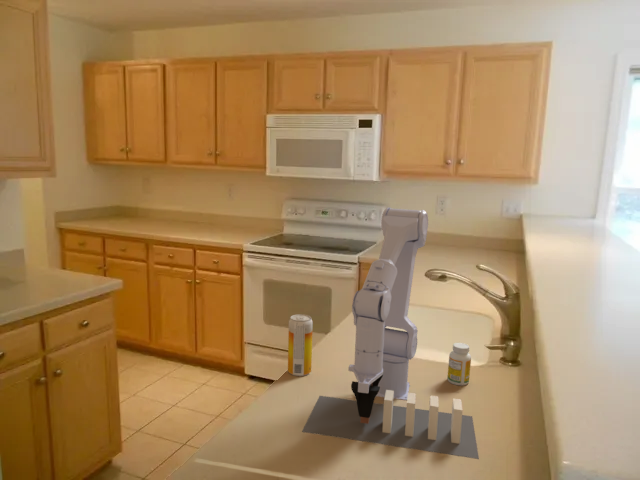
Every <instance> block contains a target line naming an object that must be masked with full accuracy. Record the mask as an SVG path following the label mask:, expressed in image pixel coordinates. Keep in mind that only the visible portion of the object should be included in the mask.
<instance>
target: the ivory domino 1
mask: <svg viewBox="0 0 640 480" xmlns="http://www.w3.org/2000/svg"><path fill="white" fill-rule="evenodd" d="M383 398H384V399H383V404H384V411H383V430H382V432H385V433H390V432H391V426H392V416H393V406H394V399H393V398H394V391H392V390H386V393H385V397H383Z"/></svg>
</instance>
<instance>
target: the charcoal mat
mask: <svg viewBox="0 0 640 480" xmlns="http://www.w3.org/2000/svg"><path fill="white" fill-rule="evenodd" d="M406 410H407V406H400V405H398V406H397V405H393V416H392V426H391V432H390V433H385V432H382V430H383V411H384V403H377V402H374V403H373V407H372V411H371V415H370V419H369V423H368V424H367V423H361V417H360V416H359V413H358V407H357V401H356V400H354V399H347V398H341V397H339V398H338V397H333V396H326V395H325V396H324V395H319V397H318V398H317V401H316V402H315V404H314V406H313V408H312V410H311V412H310V414H309V416H308V419H307V421H306V423H305V425H304V426H303V429H302V430H301V432H302V433H308V434H314V435H321V436H326V437H333V438H338V439H339V438H340V439H346V440H353V441H358V442H359V441H360V442H366V443H372V444H379V445H385V446H392V447H398V448H404V449H411V450H417V451H418V450H419V451H424V452H431V453H437V454H444V455H449V456H457V457H464V458H470V459H477V460H479V458H480V457H479V451H478V444H477V439H476V433H475V432H476V431H475V426H474V419H473V415H472V416H471V415H466V414H462V423H461V435H460V444H459V443H452V442H451V418H452V412H444V411H438V422H437V436H436V440H432V439H428V422H429V409H421V408H415V416H414V430H413V437H412V436H405V426H406Z"/></svg>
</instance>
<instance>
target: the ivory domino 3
mask: <svg viewBox="0 0 640 480" xmlns="http://www.w3.org/2000/svg"><path fill="white" fill-rule="evenodd" d="M439 407H440V406H439V396H437V395H430V397H429V407H428V408H429V409H428V410H429V422H428V439H432V440H436V436H437V422H438V412H439Z"/></svg>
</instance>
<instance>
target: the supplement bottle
mask: <svg viewBox="0 0 640 480" xmlns="http://www.w3.org/2000/svg"><path fill="white" fill-rule="evenodd" d="M469 352H470V345H468V343H464V342H454V343H453V344H452V351H450V352H449V355H448V364H447V365H448V366H447V381H448V382H449V383H450V384H453V385H455V386H466V385H468V384H469V382H470V374H471V364H472V356H471V354H470V353H469Z"/></svg>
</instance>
